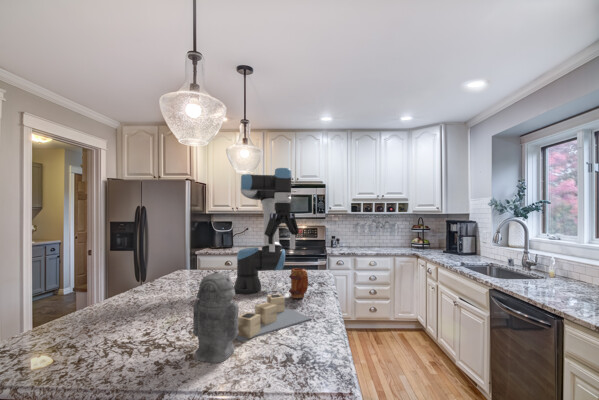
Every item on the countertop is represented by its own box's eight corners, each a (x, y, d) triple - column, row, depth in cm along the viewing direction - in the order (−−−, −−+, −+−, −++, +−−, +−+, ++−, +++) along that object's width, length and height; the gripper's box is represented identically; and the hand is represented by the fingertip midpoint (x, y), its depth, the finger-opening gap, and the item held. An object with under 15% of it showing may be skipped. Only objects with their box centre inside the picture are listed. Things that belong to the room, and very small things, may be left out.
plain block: (255, 321, 113) (255, 305, 114) (266, 317, 118) (266, 302, 118) (265, 325, 109) (265, 309, 110) (276, 320, 114) (276, 305, 114)
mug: (286, 296, 150) (286, 266, 150) (300, 294, 153) (300, 265, 154) (298, 304, 136) (298, 272, 137) (313, 301, 140) (313, 270, 140)
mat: (215, 323, 112) (215, 322, 112) (282, 307, 132) (282, 305, 132) (239, 341, 96) (239, 339, 96) (311, 319, 117) (311, 318, 117)
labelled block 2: (266, 309, 128) (266, 294, 128) (279, 307, 130) (279, 293, 130) (271, 313, 122) (271, 298, 122) (284, 311, 124) (284, 296, 125)
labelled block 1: (236, 334, 101) (236, 316, 101) (246, 328, 106) (246, 311, 106) (250, 338, 98) (250, 319, 98) (260, 331, 103) (260, 313, 104)
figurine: (202, 344, 94) (203, 267, 95) (242, 349, 91) (243, 269, 92) (184, 359, 85) (185, 273, 86) (228, 365, 82) (229, 276, 83)
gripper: (268, 201, 118) (268, 254, 117) (306, 202, 137) (306, 248, 136) (256, 201, 123) (256, 252, 122) (294, 203, 142) (294, 246, 141)
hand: (282, 250), depth 129 cm, fingers open, 12 cm apart
